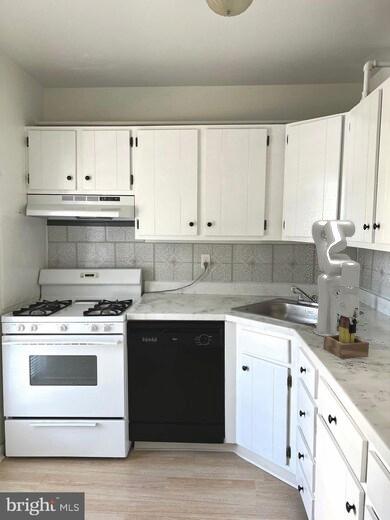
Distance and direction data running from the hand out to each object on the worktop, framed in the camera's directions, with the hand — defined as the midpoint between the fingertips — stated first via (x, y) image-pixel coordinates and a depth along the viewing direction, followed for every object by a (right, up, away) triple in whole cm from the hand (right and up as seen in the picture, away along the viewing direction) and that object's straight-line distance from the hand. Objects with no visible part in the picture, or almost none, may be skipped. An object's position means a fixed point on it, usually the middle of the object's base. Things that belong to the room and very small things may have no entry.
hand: (346, 330), depth 162 cm
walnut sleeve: (0, -10, +1) cm, 10 cm away
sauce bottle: (0, -9, +1) cm, 9 cm away
